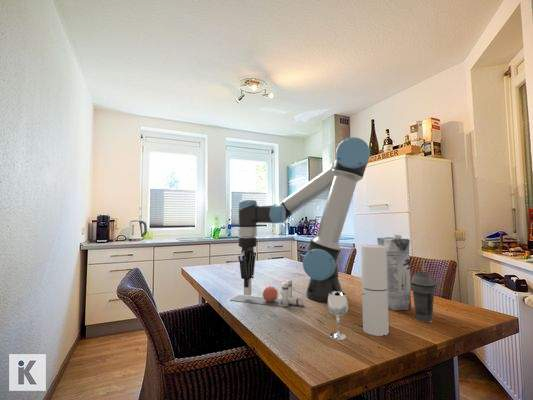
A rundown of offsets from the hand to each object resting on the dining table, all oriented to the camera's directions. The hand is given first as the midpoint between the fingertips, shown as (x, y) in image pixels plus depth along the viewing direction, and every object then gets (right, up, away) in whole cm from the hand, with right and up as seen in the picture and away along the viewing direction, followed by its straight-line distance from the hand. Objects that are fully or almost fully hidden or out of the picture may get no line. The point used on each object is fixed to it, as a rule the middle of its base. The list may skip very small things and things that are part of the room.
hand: (247, 294), depth 114 cm
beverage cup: (+60, -1, -23) cm, 64 cm away
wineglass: (+28, 0, -35) cm, 45 cm away
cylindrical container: (+40, 0, -32) cm, 51 cm away
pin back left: (+15, -1, -9) cm, 17 cm away
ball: (+9, +1, -3) cm, 10 cm away
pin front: (+14, 0, -5) cm, 15 cm away
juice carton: (+56, -1, -10) cm, 57 cm away
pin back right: (+17, -2, -4) cm, 17 cm away
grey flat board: (+6, -2, -2) cm, 6 cm away
